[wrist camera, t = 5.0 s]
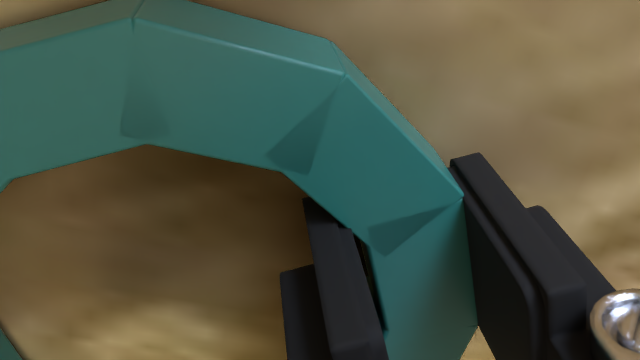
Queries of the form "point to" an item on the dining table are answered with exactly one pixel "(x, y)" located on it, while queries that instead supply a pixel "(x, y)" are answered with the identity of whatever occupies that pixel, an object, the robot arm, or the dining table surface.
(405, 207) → the ring
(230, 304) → the dining table surface
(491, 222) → the robot arm
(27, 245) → the dining table surface
